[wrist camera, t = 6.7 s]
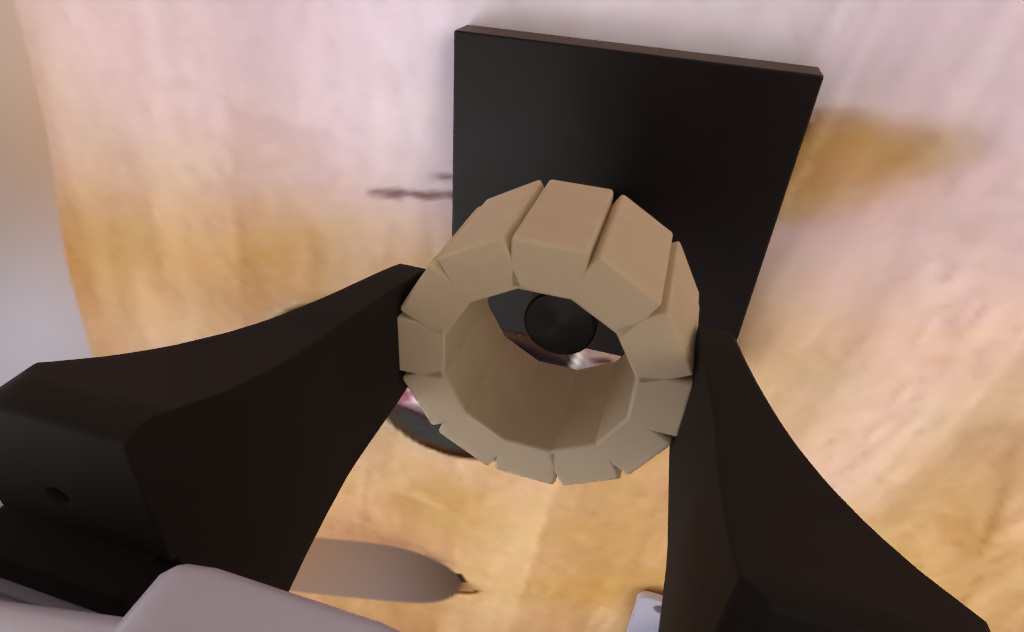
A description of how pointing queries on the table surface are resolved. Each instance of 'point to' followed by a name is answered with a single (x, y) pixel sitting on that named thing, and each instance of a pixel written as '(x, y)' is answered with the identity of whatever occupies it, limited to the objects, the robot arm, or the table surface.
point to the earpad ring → (541, 386)
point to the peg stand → (631, 155)
